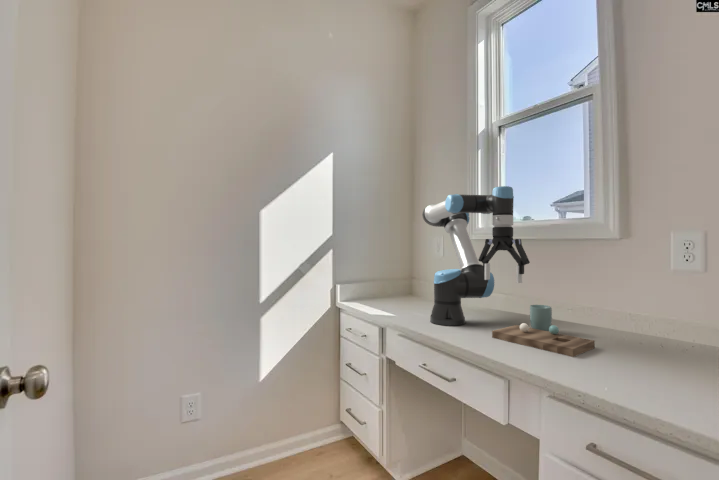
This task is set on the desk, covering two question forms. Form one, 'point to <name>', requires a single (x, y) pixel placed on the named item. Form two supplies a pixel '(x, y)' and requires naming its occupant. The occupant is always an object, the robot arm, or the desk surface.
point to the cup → (540, 317)
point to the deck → (545, 340)
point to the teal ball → (553, 329)
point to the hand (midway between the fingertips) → (502, 281)
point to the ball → (524, 327)
